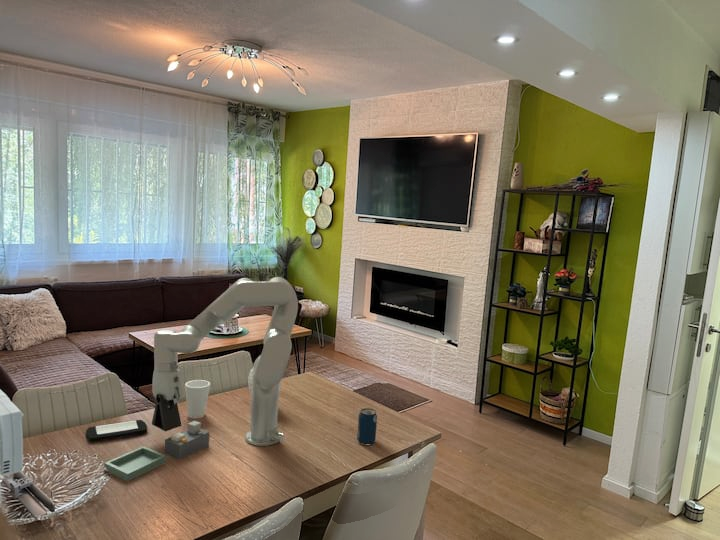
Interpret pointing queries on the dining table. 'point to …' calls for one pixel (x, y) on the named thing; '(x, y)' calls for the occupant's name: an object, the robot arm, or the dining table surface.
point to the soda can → (367, 426)
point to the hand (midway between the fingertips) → (166, 416)
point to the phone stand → (165, 415)
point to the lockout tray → (135, 463)
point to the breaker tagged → (177, 437)
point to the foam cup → (197, 397)
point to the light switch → (116, 430)
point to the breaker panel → (187, 444)
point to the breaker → (194, 427)
